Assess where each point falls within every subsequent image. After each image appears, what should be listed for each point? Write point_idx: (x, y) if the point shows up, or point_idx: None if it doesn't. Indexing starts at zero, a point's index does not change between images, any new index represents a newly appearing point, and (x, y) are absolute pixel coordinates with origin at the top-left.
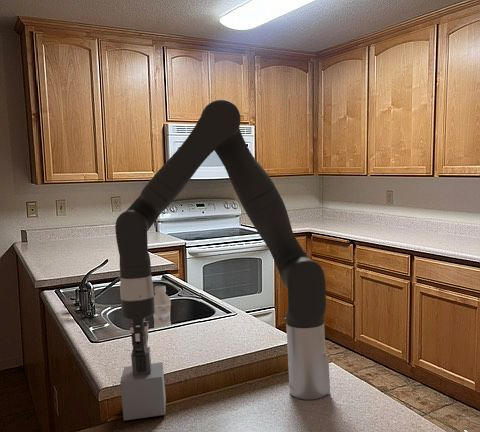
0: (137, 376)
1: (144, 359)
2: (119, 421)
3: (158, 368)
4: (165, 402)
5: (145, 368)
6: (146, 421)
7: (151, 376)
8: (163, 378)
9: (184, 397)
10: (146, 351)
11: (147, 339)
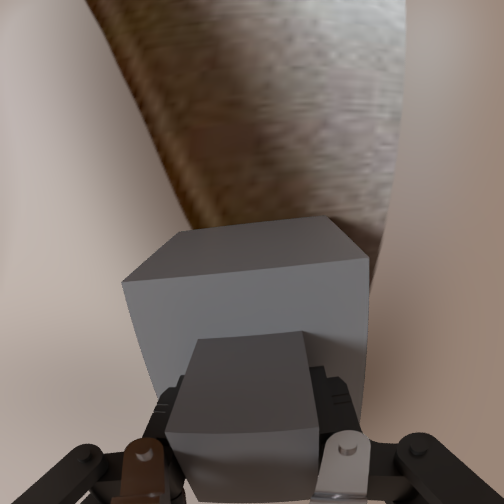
0: None
1: (334, 417)
2: None
3: (223, 297)
4: (228, 226)
5: (325, 375)
6: None
7: (346, 319)
8: (205, 253)
9: (167, 161)
10: (280, 444)
11: (162, 496)
